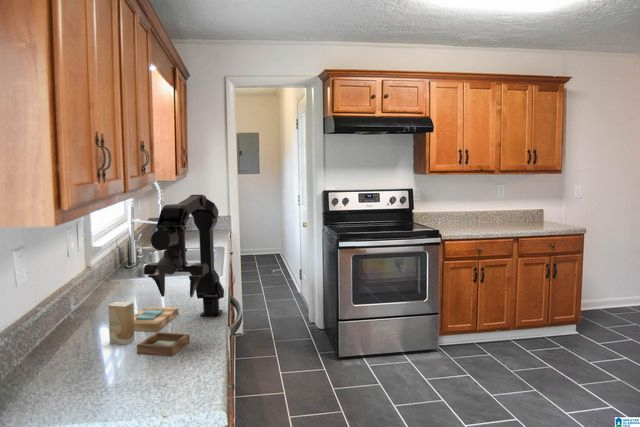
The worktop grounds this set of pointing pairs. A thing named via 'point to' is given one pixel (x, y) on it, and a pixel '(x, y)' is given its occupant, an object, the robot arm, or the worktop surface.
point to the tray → (163, 343)
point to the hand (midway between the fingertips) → (177, 296)
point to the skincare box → (121, 322)
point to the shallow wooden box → (154, 318)
